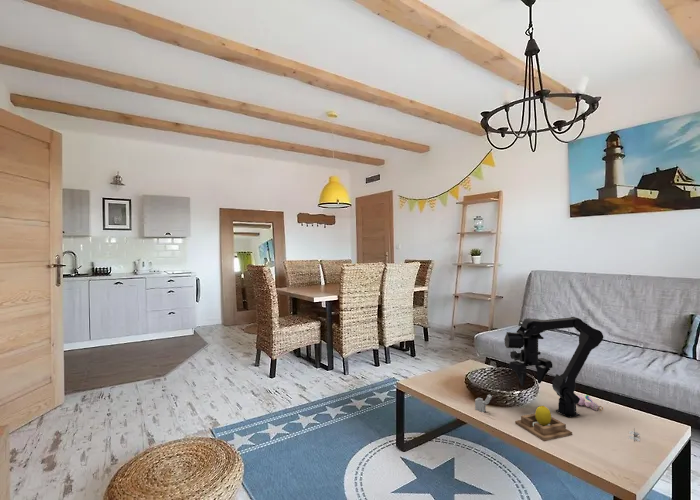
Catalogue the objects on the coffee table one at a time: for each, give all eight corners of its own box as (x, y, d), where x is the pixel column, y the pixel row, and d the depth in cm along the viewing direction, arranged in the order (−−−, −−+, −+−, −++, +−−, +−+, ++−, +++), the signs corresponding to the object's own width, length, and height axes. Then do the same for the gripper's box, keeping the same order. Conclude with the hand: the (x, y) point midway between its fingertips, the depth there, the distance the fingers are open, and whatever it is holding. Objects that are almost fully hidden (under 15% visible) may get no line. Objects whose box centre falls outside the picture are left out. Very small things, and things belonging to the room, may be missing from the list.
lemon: (550, 430, 137) (550, 410, 137) (534, 427, 140) (534, 406, 140) (551, 424, 142) (551, 404, 142) (535, 421, 145) (535, 401, 145)
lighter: (474, 409, 158) (474, 391, 158) (476, 408, 159) (476, 390, 159) (490, 414, 153) (490, 396, 153) (492, 413, 154) (492, 395, 154)
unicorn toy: (603, 412, 158) (567, 396, 170) (606, 400, 158) (569, 384, 169) (598, 416, 154) (561, 399, 166) (601, 403, 154) (563, 387, 165)
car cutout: (645, 446, 130) (646, 433, 130) (622, 439, 134) (623, 427, 134) (646, 429, 141) (646, 418, 141) (624, 424, 146) (624, 413, 146)
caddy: (542, 418, 150) (542, 410, 150) (572, 434, 137) (572, 425, 136) (515, 423, 145) (515, 414, 145) (543, 441, 132) (543, 431, 132)
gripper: (533, 342, 166) (532, 375, 166) (500, 345, 160) (499, 380, 160) (553, 348, 155) (553, 384, 155) (518, 352, 150) (518, 389, 150)
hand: (530, 384), depth 155 cm, fingers open, 9 cm apart
